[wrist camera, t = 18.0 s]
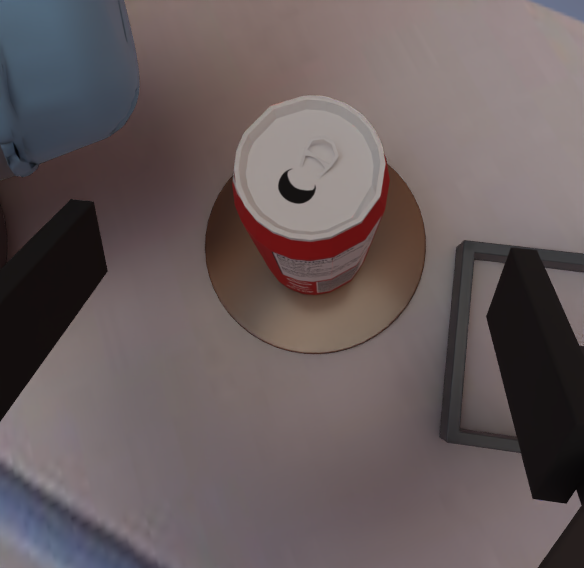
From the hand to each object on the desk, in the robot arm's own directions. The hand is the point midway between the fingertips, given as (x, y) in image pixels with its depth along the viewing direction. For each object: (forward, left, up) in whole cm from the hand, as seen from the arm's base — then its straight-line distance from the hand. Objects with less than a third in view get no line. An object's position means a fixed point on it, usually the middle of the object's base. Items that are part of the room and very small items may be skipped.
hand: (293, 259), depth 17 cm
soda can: (-1, +3, -12) cm, 12 cm away
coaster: (-1, +3, -12) cm, 12 cm away
